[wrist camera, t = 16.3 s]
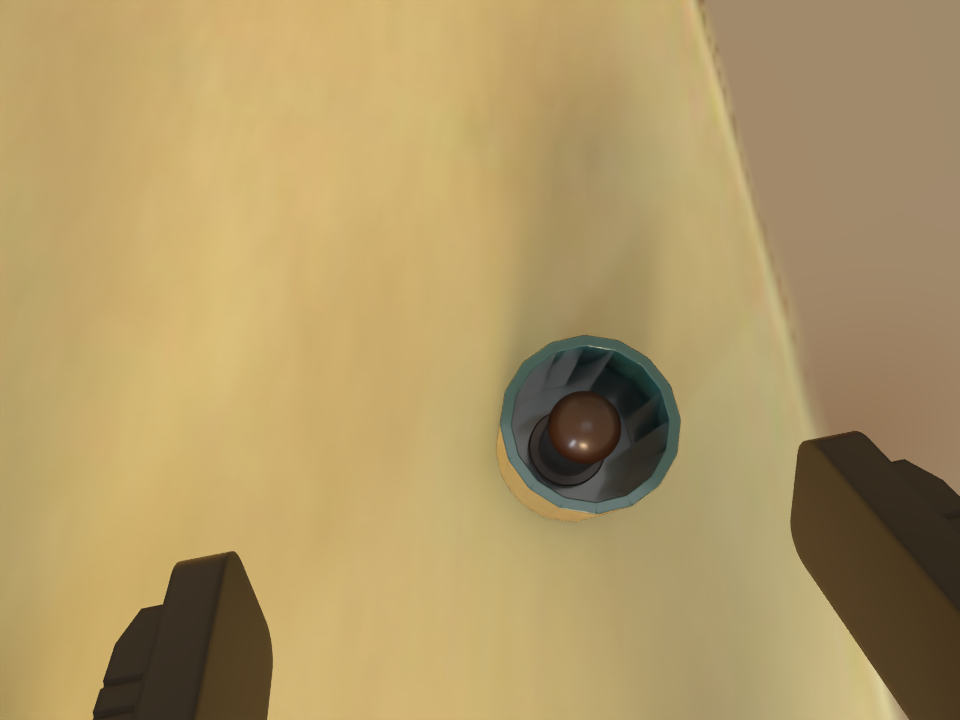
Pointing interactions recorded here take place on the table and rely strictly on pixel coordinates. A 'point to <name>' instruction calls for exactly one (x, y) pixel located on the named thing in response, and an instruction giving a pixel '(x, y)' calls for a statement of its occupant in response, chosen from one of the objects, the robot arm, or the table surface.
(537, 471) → the game pawn
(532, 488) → the cup
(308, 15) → the table surface
